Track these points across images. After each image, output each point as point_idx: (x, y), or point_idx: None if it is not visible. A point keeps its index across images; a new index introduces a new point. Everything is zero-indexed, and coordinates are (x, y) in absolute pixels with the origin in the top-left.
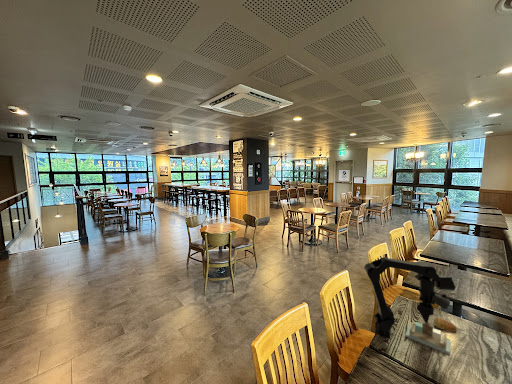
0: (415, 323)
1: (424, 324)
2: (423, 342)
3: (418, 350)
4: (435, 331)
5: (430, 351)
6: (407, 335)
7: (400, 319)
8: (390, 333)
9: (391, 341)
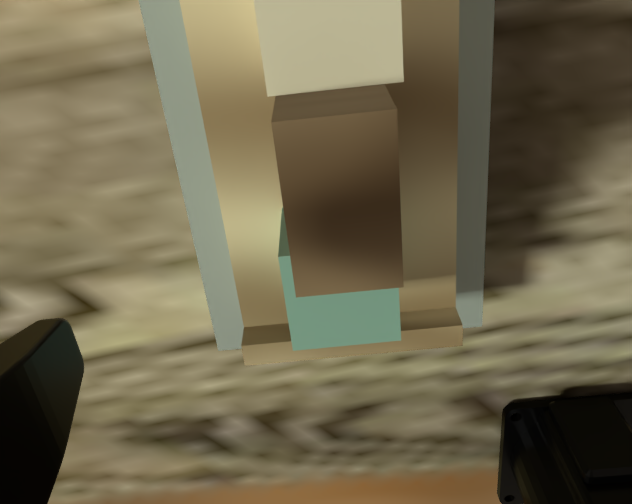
0: (354, 344)
1: (399, 252)
2: (485, 132)
3: (592, 141)
4: (355, 35)
5: (518, 25)
6: (481, 306)
7: (122, 412)
8: (601, 437)
9: (608, 370)
